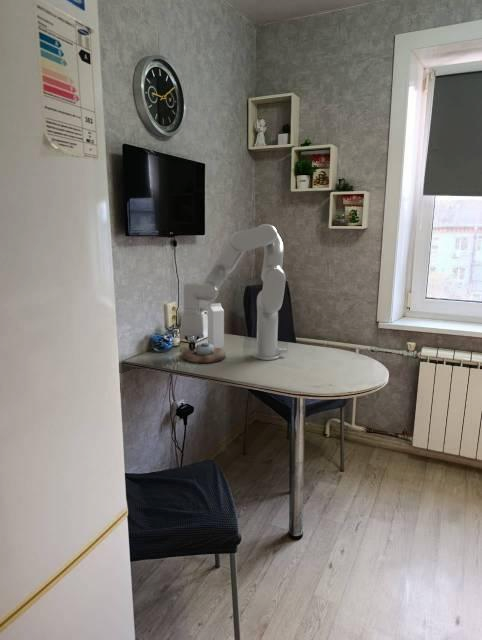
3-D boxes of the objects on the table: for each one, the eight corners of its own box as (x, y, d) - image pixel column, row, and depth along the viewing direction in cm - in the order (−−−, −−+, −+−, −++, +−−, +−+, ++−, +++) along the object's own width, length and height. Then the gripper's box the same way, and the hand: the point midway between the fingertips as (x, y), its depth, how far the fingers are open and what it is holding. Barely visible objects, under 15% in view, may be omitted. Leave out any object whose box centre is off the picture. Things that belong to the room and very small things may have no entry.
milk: (207, 346, 217) (207, 303, 212) (218, 344, 220) (218, 302, 215) (213, 349, 212) (213, 304, 207) (224, 347, 215) (224, 303, 210)
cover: (213, 350, 203) (213, 341, 202) (214, 354, 195) (214, 346, 195) (196, 350, 202) (196, 342, 201) (196, 355, 194) (196, 346, 194)
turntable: (224, 349, 209) (224, 346, 209) (227, 362, 190) (227, 358, 190) (182, 350, 208) (182, 347, 207) (181, 362, 188) (180, 359, 188)
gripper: (208, 309, 198) (208, 348, 202) (175, 309, 197) (176, 348, 201) (209, 312, 191) (208, 352, 195) (174, 312, 189) (175, 352, 193)
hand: (192, 350), depth 198 cm, fingers closed
